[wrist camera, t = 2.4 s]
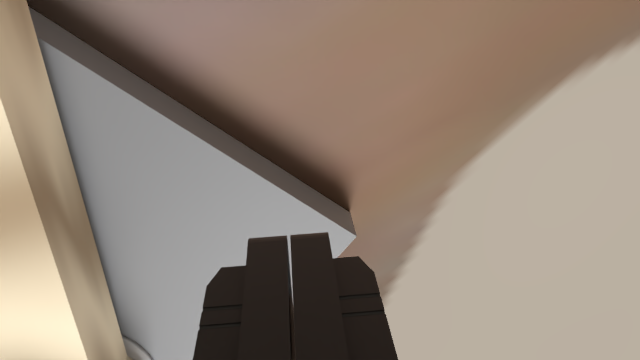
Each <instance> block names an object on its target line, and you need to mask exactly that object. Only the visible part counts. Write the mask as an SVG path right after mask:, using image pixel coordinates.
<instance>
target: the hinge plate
mask: <svg viewBox="0 0 640 360" xmlns="http://www.w3.org/2000/svg"><path fill="white" fill-rule="evenodd" d="M28 8H29V11H30V15H31V18H32V22H33V25H34V29H35V32H36V36H37V40H38V43H39V47H40V50H41V54H42V57H43V61H44V64H45V68H46V71H47V75H48V78H49V82H50V85H51V89H52V92H53V96H54V99H55V103H56V106H57V110H58V113H59V117H60V121H61V124H62V128H63V131H64V135H65V138H66V142H67V145H68V149H69V152H70V156H71V159H72V163H73V166H74V170H75V173H76V177H77V180H78V184H79V187H80V191H81V194H82V198H83V202H84V205H85V209H86V212H87V216H88V219H89V223H90V226H91V230H92V233H93V237H94V240H95V244H96V247H97V251H98V254H99V258H100V261H101V265H102V268H103V272H104V275H105V279H106V283H107V286H108V290H109V293H110V297H111V300H112V304H113V307H114V311H115V314H116V318H117V321H118V325H119V328H120V332H121V335H122V339H123V342H124V346H125V349H126V353H127V356H129V357H131V358H132V359H133V360H193V356H194V350H195V345H196V340H197V334H198V330H199V324H200V318H201V313H202V312H203V302H204V297H205V292H206V286H207V285H208V284H209V282H210V281H211V280H212V279H213V277H214V276H215V275H216V274H217V272H218V271H219V270H220V268H221V267H232V266H245V265H246V258H247V246H248V239H249V238H259V237H272V236H286V235H287V240H288V251H289V263H290V275H291V287H292V265H291V242H290V235H297V234H310V233H323V232H328V234H329V239H330V245H331V251H332V257H333V258H337V257H338V256H339V255H340V254H341V253H342V252H343V251H344V250H345V248H346V247H347V246H348V245H349V244H350V243H351V242H352V241H353V240H354V239H355V238H356V232H355V228H354V225H353V221H352V217H351V214H350V212H348V211H347V210H345V209H344V208H342V207H341V206H339V205H337V204H336V203H334V202H333V201H331V200H330V199H328V198H327V197H325V196H323V195H322V194H320V193H319V192H317V191H316V190H314V189H313V188H311V187H309V186H308V185H306V184H305V183H303V182H302V181H300V180H299V179H297V178H295V177H294V176H292V175H291V174H289V173H288V172H286V171H284V170H283V169H281V168H280V167H278V166H277V165H275V164H274V163H272V162H270V161H269V160H267V159H266V158H264V157H263V156H261V155H260V154H258V153H256V152H255V151H253V150H252V149H250V148H249V147H247V146H246V145H244V144H242V143H241V142H239V141H238V140H236V139H235V138H233V137H231V136H230V135H228V134H227V133H225V132H224V131H222V130H221V129H219V128H217V127H216V126H214V125H213V124H211V123H210V122H208V121H207V120H205V119H203V118H202V117H200V116H199V115H197V114H196V113H194V112H193V111H191V110H189V109H188V108H186V107H185V106H183V105H182V104H180V103H178V102H177V101H175V100H174V99H172V98H171V97H169V96H168V95H166V94H164V93H163V92H161V91H160V90H158V89H157V88H155V87H154V86H152V85H150V84H149V83H147V82H146V81H144V80H143V79H141V78H139V77H138V76H136V75H135V74H133V73H132V72H130V71H129V70H127V69H125V68H124V67H122V66H121V65H119V64H118V63H116V62H115V61H113V60H111V59H110V58H108V57H107V56H105V55H104V54H102V53H101V52H99V51H97V50H96V49H94V48H93V47H91V46H90V45H88V44H86V43H85V42H83V41H82V40H80V39H79V38H77V37H76V36H74V35H72V34H71V33H69V32H68V31H66V30H65V29H63V28H62V27H60V26H58V25H57V24H55V23H54V22H52V21H51V20H49V19H48V18H46V17H44V16H43V15H41V14H40V13H38V12H37V11H35V10H33V9H32V8H30V7H29V6H28ZM292 299H293V288H292Z"/></svg>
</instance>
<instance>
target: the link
mask: <svg viewBox="0 0 640 360" xmlns="http://www.w3.org/2000/svg"><path fill="white" fill-rule="evenodd" d="M0 360H133V359H132V358H131V357H129V356H127V353H126V349H125V346H124V342H123V339H122V335H121V332H120V328H119V325H118V321H117V318H116V314H115V311H114V307H113V304H112V300H111V297H110V293H109V290H108V286H107V283H106V279H105V275H104V272H103V268H102V265H101V261H100V258H99V254H98V251H97V247H96V244H95V240H94V237H93V233H92V230H91V226H90V223H89V219H88V216H87V212H86V209H85V205H84V202H83V198H82V194H81V191H80V187H79V184H78V180H77V177H76V173H75V170H74V166H73V163H72V159H71V156H70V152H69V149H68V145H67V142H66V138H65V135H64V131H63V128H62V124H61V121H60V117H59V113H58V110H57V106H56V103H55V99H54V96H53V92H52V89H51V85H50V82H49V78H48V75H47V71H46V68H45V64H44V61H43V57H42V54H41V50H40V47H39V43H38V40H37V36H36V32H35V29H34V25H33V22H32V18H31V15H30V11H29V8H28V4H27V1H26V0H0Z"/></svg>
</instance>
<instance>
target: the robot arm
mask: <svg viewBox="0 0 640 360" xmlns="http://www.w3.org/2000/svg"><path fill="white" fill-rule="evenodd" d="M290 242H291V265H292V287H291V275H290V263H289V251H288V240H287V235H286V236H272V237H259V238H249V239H248V246H247V258H246V265H245V266H232V267H221V268H220V270H219V271H218V272H217V274H216V275H215V276H214V277H213V279H212V280H211V281H210V282H209V284H208V285H207V286H206V292H205V297H204V302H203V312H202V313H201V318H200V324H199V330H198V334H197V340H196V345H195V350H194V356H193V360H398V358H397V354H396V351H395V347H394V344H393V340H392V336H391V332H390V329H389V325H388V321H387V318H386V314H385V312H384V307H383V303H382V299H381V297H380V292H379V288H378V285H377V281H376V277H375V274H374V272H373V271H372V270H371V269H370V268H369V267H368V266H367V265H366V264H365V263H364V262H363V261H362V260H361V259H360V258H359V257H358V256H357V257H344V258H333V257H332V251H331V245H330V239H329V234H328V232H323V233H310V234H297V235H290ZM292 288H293V299H292ZM293 310H294V312H293Z"/></svg>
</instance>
